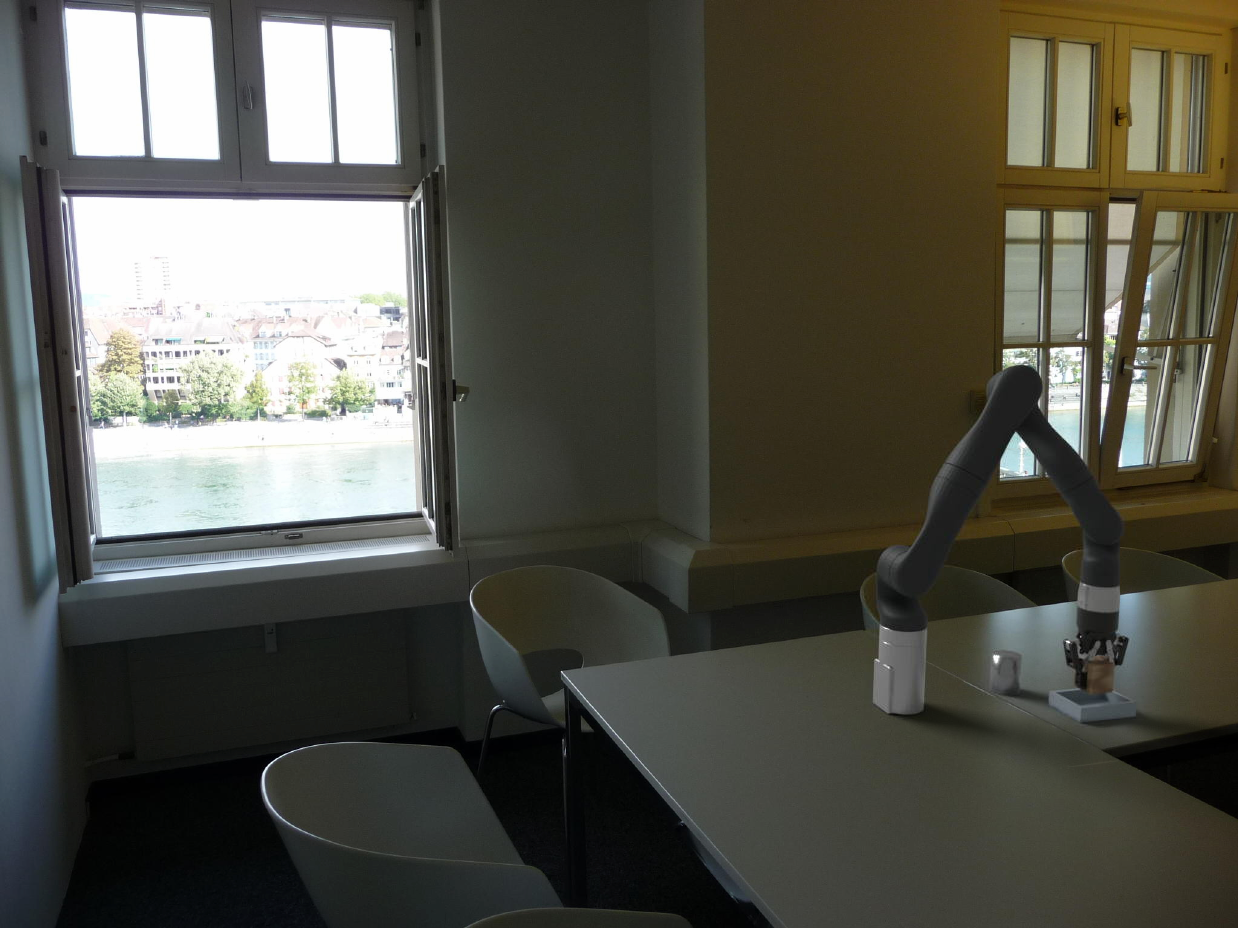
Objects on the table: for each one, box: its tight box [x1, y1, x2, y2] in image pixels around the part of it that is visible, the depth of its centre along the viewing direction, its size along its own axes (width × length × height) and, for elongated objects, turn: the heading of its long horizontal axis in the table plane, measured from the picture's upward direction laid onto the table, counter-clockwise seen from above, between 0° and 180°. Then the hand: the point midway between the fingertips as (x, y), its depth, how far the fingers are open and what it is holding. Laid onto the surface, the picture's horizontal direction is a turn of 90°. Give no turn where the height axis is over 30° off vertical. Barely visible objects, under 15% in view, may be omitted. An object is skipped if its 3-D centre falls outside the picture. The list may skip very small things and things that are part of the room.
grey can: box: [989, 649, 1023, 697], centre depth 203 cm, size 6×6×8 cm
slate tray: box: [1048, 687, 1138, 724], centre depth 192 cm, size 13×9×3 cm
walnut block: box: [1073, 655, 1115, 695], centre depth 191 cm, size 5×5×6 cm
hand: (1093, 686), depth 192 cm, fingers closed on walnut block, 5 cm apart
